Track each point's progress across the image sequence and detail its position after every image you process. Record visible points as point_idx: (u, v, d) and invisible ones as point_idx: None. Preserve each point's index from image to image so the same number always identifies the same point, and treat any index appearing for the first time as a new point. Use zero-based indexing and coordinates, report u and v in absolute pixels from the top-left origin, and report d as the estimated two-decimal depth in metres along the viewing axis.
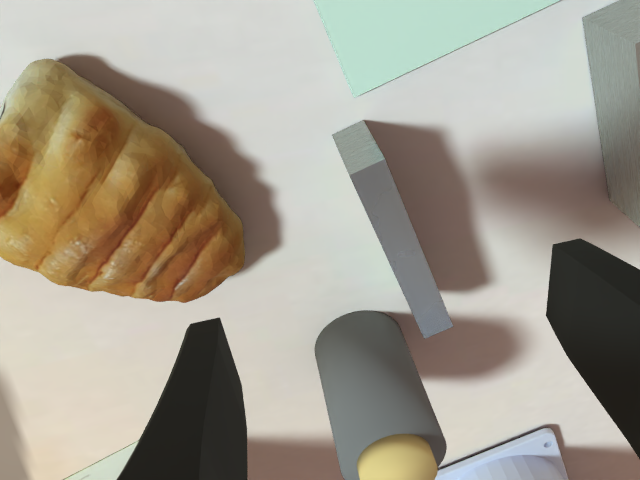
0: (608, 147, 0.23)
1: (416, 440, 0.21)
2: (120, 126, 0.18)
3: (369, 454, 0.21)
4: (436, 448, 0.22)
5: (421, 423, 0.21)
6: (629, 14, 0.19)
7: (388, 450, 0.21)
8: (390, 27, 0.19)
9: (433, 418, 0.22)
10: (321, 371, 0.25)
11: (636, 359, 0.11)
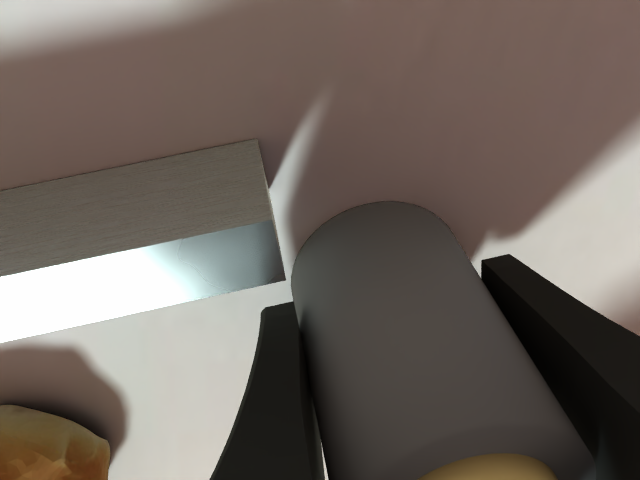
0: None
1: None
2: None
3: None
4: (497, 443, 0.08)
5: (377, 474, 0.08)
6: None
7: None
8: None
9: (418, 409, 0.09)
10: None
11: (552, 378, 0.10)
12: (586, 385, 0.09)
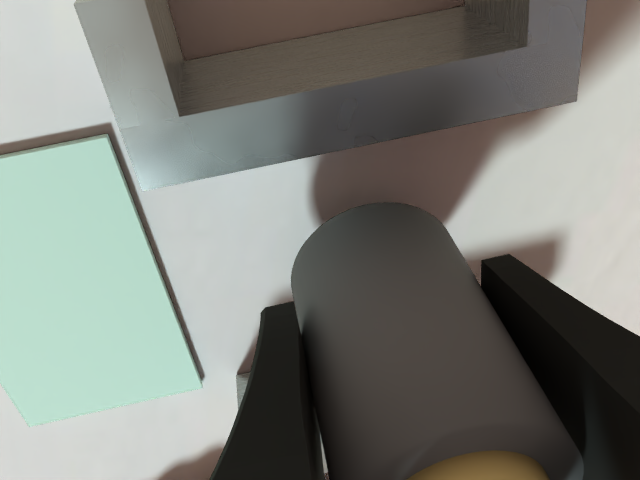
0: None
1: None
2: None
3: None
4: (484, 441, 0.09)
5: (370, 474, 0.09)
6: None
7: None
8: (124, 354, 0.16)
9: (408, 411, 0.09)
10: None
11: (552, 377, 0.10)
12: (586, 385, 0.09)
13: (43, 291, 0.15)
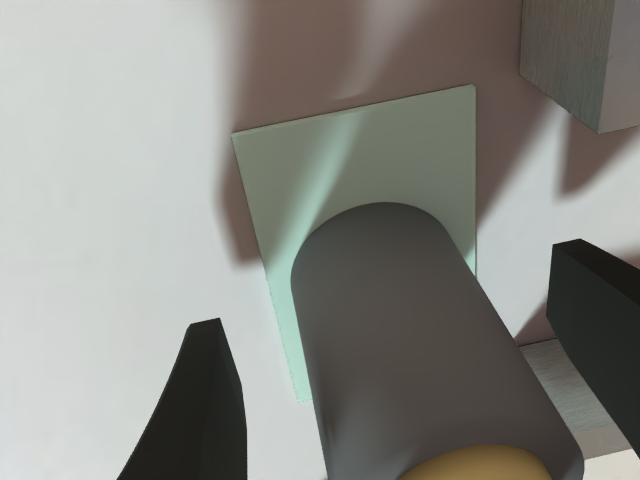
0: None
1: None
2: None
3: None
4: (483, 435, 0.09)
5: (368, 468, 0.09)
6: (550, 46, 0.11)
7: None
8: None
9: (406, 404, 0.09)
10: None
11: (636, 358, 0.11)
12: None
13: None
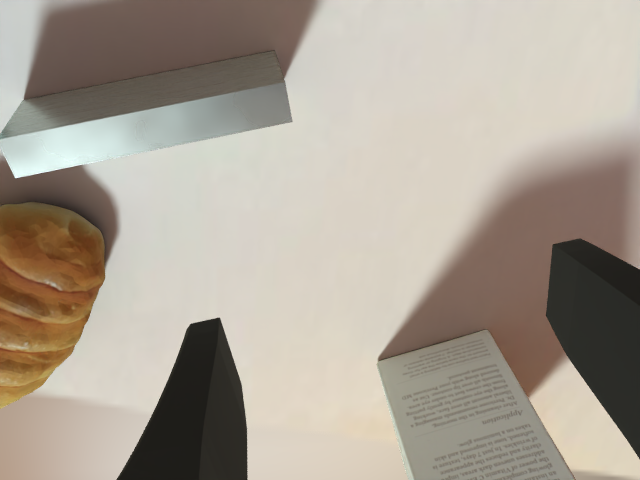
0: None
1: None
2: None
3: None
4: None
5: None
6: None
7: None
8: None
9: None
10: None
11: (636, 358, 0.11)
12: None
13: None
